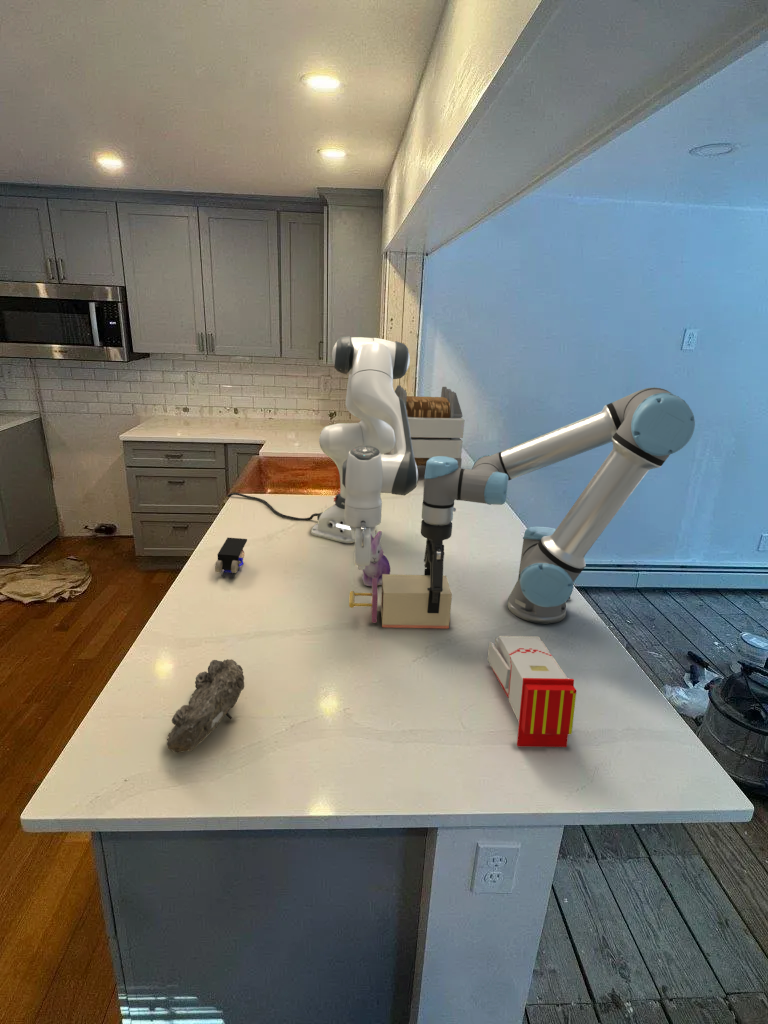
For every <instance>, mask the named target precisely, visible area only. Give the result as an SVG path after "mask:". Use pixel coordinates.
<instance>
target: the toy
mask: <svg viewBox="0 0 768 1024" xmlns="http://www.w3.org/2000/svg"><path fill="white" fill-rule="evenodd" d="M488 643H489V644H488V651H487V658H486V659H487V662H488V664H489V666H490V668H491V669H492V672H493V674H494V675H495V677H496V679H497V681H498V682H499V684H500V687H501V688H502V691H503V692H504V694H505V697H507V699H508V702H509V705H510V706H511V709H512V710H513V713H514V714H515V717H516V720H517V721H518V728H517V729H518V730H517V741H516V746H517V747H520V748H521V747H522V748H523V747H525V748H527V747H529V748H531V747H532V748H533V747H534V748H545V747H546V748H567V747H568V740H569V735H572V733H573V725H574V716H575V708H576V700H577V689H576V687H575V686H574V685H575V679H574V678H569V677H568V676H567V675H566V673H565V672H564V670H563V669H562V668H561V667H560V665H559V663H558V662H557V661H556V659H555V658H554V656H553V654H552V653H551V652H550V650H549V649H548V648H547V646H546V644H545V642H544V641H543V640H542V639H541V638H540V636H534V635H533V636H532V635H530V636H527V635H526V636H525V635H524V636H523V635H498V637H497V636H496V637H494V643H493V641H489V642H488Z"/></svg>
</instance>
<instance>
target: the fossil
mask: <svg viewBox="0 0 768 1024" xmlns="http://www.w3.org/2000/svg"><path fill="white" fill-rule="evenodd" d="M243 670H244V669H243V667H242V665H240V664H237V662H236V661H235V660H234V659H232V658H231V659H227V658H226V659H224V660H223V661H222V660H217V659H212V660H211V661H210V663H209V665H208V666H207V671H201V672H199V673H198V674H197V675H196V676H195V680H194V684H195V685H194V687H195V689H194V690H193V693H192V694H191V697H190V698H189V700H188V704H184V705H182V706H181V707H180V709H177V710H176V711H175V713H174V715H173V716H172V718H171V723H172V724H173V727H172V730H171V731H170V732H168V734H167V738H166V741H167V742H166V745H167V749H168V750H169V751H173V752H174V753H176V754H178V753H182V752H188V751H189V752H192V751H193V750H195V748H196V747H197V746H199V744H200V743H201V742H203V741H204V740H205V739H206V738H207V737H208V736H209V735H210V734H211V733H212V732H214V730H215V729H217V727H218V726H219V724H220V722H221V721H222V720H223V719H224V718H225V716H226V717H227V719H229V720H233V717H232V715H230V714H229V710H230V709H231V708H234V706H235V704H236V703H237V702H238V699H239V697H240V695H241V693H242V691H243V690H245V689H244V688H245V675H244V671H243Z"/></svg>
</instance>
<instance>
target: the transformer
mask: <svg viewBox="0 0 768 1024" xmlns="http://www.w3.org/2000/svg"><path fill="white" fill-rule="evenodd" d="M394 391H395V393H396V395H397V396H398V397H399V398H401V399H403V401H404V404H405V407H406V411H407V416H408V422H409V429H410V435H411V442H412V448H413V454H414V459H415V462H416V465H417V467H426V462H427V460H428V459H429V458H431V457H435V456H445V457H449V458H454V459H456V460H457V462H458V468H462V461H463V460H462V453H463V442H464V441H463V440H462V439H463V438H464V431H465V430H464V429H465V419H464V418H463V411H462V408H461V405H460V402H459V398H458V395H457V392H455V391H453V390H452V389H451V388H447V386H442V387H441V392H440V393H441V394H440V396H415V395H414V396H413V395H412V396H411V395H407V394H408V393H407V390H406V389H404V388H403V387H402V385H399V384H398V385H397V386H396V388H395V389H394ZM394 454H397V448H396V443H395V446H394V448H393V450H392V451H391V452H389V453H385V455H394Z"/></svg>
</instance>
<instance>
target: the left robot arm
mask: <svg viewBox="0 0 768 1024" xmlns="http://www.w3.org/2000/svg"><path fill="white" fill-rule="evenodd" d="M409 352H410V351H409V348H408V347H407V345H406V344H404V343H403V342H400V341H396V340H395V341H392V340H388V339H383V338H380V337H379V338H378V337H365V336H364V337H363V336H351V335H346V336H340V337H339V338H338V339H337V340H336V342H335V343H334V345H333V348H332V351H331V361H332V363H333V368H334V369H335V370H336V372H338V373H340V374H343V375H345V376H346V375H348V379H347V385H346V395H345V407H346V410H347V412H348V413H350V414H351V415H352V416H354V417H355V418H358V419H359V420H360V421H359V422H344V423H343V422H341V423H340V422H339V423H334V424H329V425H325V426H324V427H323V428H322V429H321V431H320V434H319V438H318V442H319V447H320V449H321V451H322V452H323V454H325V455H326V456H327V457H328V458H330V459H331V460H332V462H333V463H334V464H335V465H336V467H337V470H338V473H339V483H340V484H339V485H340V488H339V489H340V490H339V491H338V492H337V494H336V495H335V496H334V497H333V502H334V504H333V505H331V506H329V507H328V508H326V509H325V510H323V511H322V512H319V513H317V512H315V513H313V514H311V515H310V516H309V517H294V516H291V515H286V514H283V513H281V512H279V511H277V510H276V509H275V508H274V507H273V506H272V505H271V504H270V503H269V502H268V501H266V500H265V499H263V498H260V497H255V496H252V495H246V494H243V493H240V492H231V493H229V494H228V495H227V496H226V497H227V498H230V497H232V496H239V497H242V498H246V499H250V500H256V501H258V502H261V503H264V504H265V505H266V506H267V507H268V508H269V509H270V510H271V511H272V512H273V513H274V514H275V515H277V516H280V517H282V518H284V519H290V520H294V521H311V520H313V519H314V517H317V518H316V519H317V523H315V524H314V525H313V526H312V528H311V530H310V533H311V536H315V537H319V538H323V539H326V540H330V541H336V542H339V543H343V544H352V543H354V559H353V560H354V561H353V562H354V565H355V566H356V567H357V569H358V570H361V571H363V570H364V569H365V566H369V565H370V554H371V535H372V537H373V538H374V537H375V536H376V534H377V532H376V528H377V526H380V524H381V523H382V508H383V501H382V496H381V495H382V494H391V495H397V496H406V495H408V494H410V493H411V492H413V491H414V490H415V489H416V488H417V484H418V482H419V470H418V466H417V465H416V462H415V459H414V454H413V448H412V442H411V435H410V429H409V422H408V416H407V411H406V407H405V404H404V401H403V399H401V398H399V397H398V396H397V395H396V393H395V389H394V380H398V379H399V380H400V379H401V378H403V377H405V375H406V373H407V371H408V369H409V367H410V363H411V357H410V353H409ZM395 443H396V448H397V454H394V455H385V453H389V452H391V451H392V450H393V448H394V446H395Z"/></svg>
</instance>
